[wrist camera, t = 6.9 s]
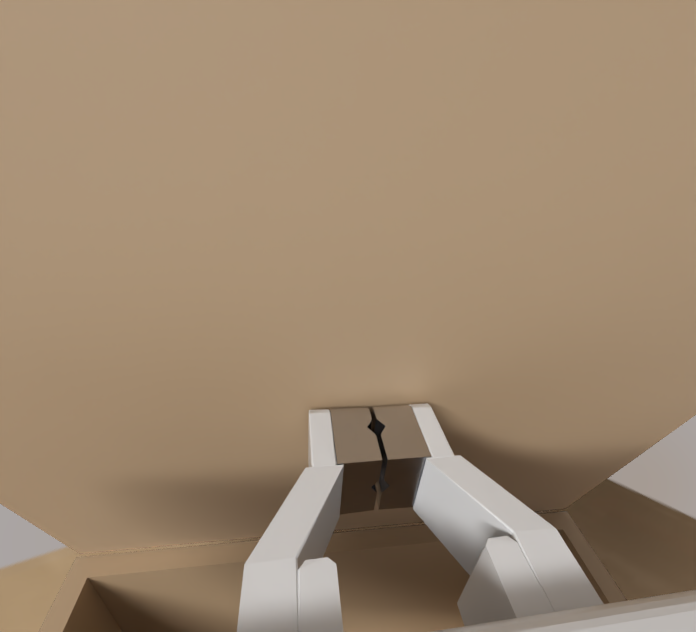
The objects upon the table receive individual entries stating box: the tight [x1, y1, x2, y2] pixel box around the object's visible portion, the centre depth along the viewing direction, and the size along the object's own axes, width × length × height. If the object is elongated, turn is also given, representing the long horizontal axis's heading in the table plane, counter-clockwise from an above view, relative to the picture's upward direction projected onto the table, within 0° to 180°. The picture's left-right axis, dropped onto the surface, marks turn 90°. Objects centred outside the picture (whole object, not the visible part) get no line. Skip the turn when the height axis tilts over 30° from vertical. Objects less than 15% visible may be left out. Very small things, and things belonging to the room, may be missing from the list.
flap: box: [0, 0, 696, 554], centre depth 10 cm, size 18×22×1 cm
